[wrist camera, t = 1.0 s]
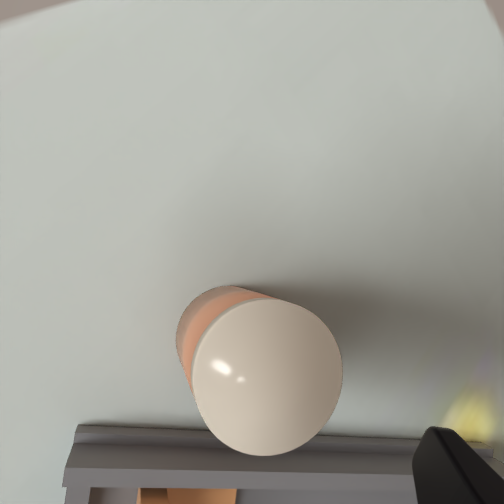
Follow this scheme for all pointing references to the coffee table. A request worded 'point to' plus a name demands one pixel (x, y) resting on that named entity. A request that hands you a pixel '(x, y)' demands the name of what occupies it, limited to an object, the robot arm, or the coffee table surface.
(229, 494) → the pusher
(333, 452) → the lane
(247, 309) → the jar
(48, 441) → the coffee table surface
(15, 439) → the coffee table surface
